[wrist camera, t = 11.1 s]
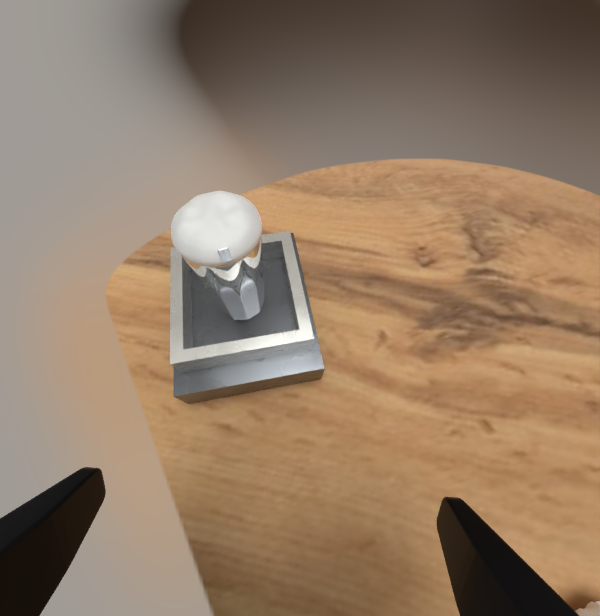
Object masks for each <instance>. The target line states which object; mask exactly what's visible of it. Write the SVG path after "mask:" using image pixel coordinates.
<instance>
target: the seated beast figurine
mask: <svg viewBox="0 0 600 616" xmlns="http://www.w3.org/2000/svg"><path fill="white" fill-rule="evenodd" d="M575 612H576V613H577V614H578V615H579V616H600V601H596V602H592V601H591V602H589V603H588V604H587V606H586V608H584V609H582V608H579V609H578V610H575Z"/></svg>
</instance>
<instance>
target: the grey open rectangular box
mask: <svg viewBox="0 0 600 616" xmlns="http://www.w3.org/2000/svg"><path fill="white" fill-rule="evenodd" d="M262 262H263V279H264V299H265V300H264V303H263V305H262V308H261V310H260V312H259V313H257V314H256V315H254V316H253V317H251V318H250V319H248V320H234V319H232V318H231V317H229V316H228V315H226V314H225V313H224V312H223V311H222V310H221V308H220V307H219V306H218V304H217V303H216V301H215V300H214V299H213V297H212V296H211V294H210V293H209V292H208V290H207V289H206V287H205V286H204V285H203V283H202V282H201V280H200V279H199V277H198V276H197V275H196V274H195V272H194V271H193V270H192V268H191V267H190V266H189V265H188V263H187V262H186V261H185V260H184V258H183V257H182V256H181V254H180V253H179V252H178V251H177V250H176V248H175V247H173V248H171V287H170V365H172V366H173V367H174V397H176V398H178V399H180V400H182V401H184V402H186V403H188V404H191V403H196V402H201V401H207V400H212V399H217V398H222V397H228V396H233V395H238V394H243V393H249V392H254V391H259V390H265V389H270V388H275V387H280V386H286V385H291V384H296V383H301V382H307V381H312V380H317V379H321V378H322V375H323V372H324V364H323V360H322V355H321V351H320V347H319V342H318V338H317V334H316V329H315V325H314V321H313V316H312V312H311V308H310V304H309V299H308V295H307V291H306V286H305V282H304V278H303V273H302V269H301V265H300V260H299V256H298V252H297V247H296V243H295V239H294V234H293V233H290V231H287V232H280V233H272V234H265V235H262Z"/></svg>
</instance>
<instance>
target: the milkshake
mask: <svg viewBox="0 0 600 616" xmlns="http://www.w3.org/2000/svg"><path fill="white" fill-rule="evenodd" d="M171 237H172V242H173V245H174V247H175V248H176V250H177V251H178V252H179V253H180V254H181V256H182V257H183V258H184V260H185V261H186V262H187V263H188V265H189V266H190V267H191V268H192V270H193V271H194V272H195V274H196V275H197V276H198V277H199V279H200V280H201V282H202V283H203V285H204V286H205V287H206V289H207V290H208V292H209V293H210V294H211V296H212V297H213V299H214V300H215V301H216V303H217V304H218V306H219V307H220V308H221V310H222V311H223V312H224V313H225V314H226V315H228V316H229V317H231V318H232V319H234V320H248V319H250V318H251V317H253V316H254V315H256V314H257V313H259V312H260V310H261V308H262V305H263V303H264V300H265V299H264V279H263V262H262V222H261V218H260V215H259V213H258V211H257V209H256V208H255V206H254V205H253V204H252V203H251V202H250V201H249V200H247V199H246V198H244V197H242V196H240V195H237V194H233V193H229V192H225V191H214V192H210V193H205V194H200V195H198V196H196V197H194V198H193V199H192V200H190V201H189V202H188V203H187V204H185V205H184V206H182V207H181V208H180V209H179V210H178V211H177V213H176V214H175V216H174V218H173V221H172V224H171Z"/></svg>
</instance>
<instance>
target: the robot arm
mask: <svg viewBox="0 0 600 616" xmlns="http://www.w3.org/2000/svg"><path fill="white" fill-rule="evenodd" d="M105 492H106V491H105V485H104V480H103V475H102V471H101V470H100V469H99V468H90V467H85V468H82V469H80V470H78V471H76V472H75V473H73V474H72V475H70V476H68V477H67V478H65V479H63V480H62V481H60V482H59V483H57V484H55V485H54V486H52V487H51V488H49V489H47V490H46V491H44V492H42V493H41V494H39V495H38V496H36V497H34V498H33V499H31V500H30V501H28V502H26V503H25V504H23V505H21V506H20V507H18V508H16V509H15V510H13V511H12V512H10V513H8V514H7V515H5V516H4V517H2V518H0V616H39V615H40V614H41V612H42V611H43V609H44V607H45V606H46V604H47V603H48V601H49V599H50V597H51V596H52V594H53V593H54V591H55V590H56V588H57V586H58V585H59V583H60V581H61V580H62V578H63V576H64V575H65V573H66V571H67V570H68V568H69V566H70V564H71V562H72V561H73V559H74V557H75V555H76V553H77V551H78V549H79V547H80V545H81V543H82V541H83V539H84V537H85V535H86V534H87V532H88V529H89V528H90V526H91V524H92V522H93V520H94V518H95V516H96V514H97V512H98V510H99V508H100V506H101V505H102V503H103V500H104V498H105ZM437 529H438V534H439V538H440V541H441V545H442V549H443V553H444V557H445V561H446V565H447V569H448V573H449V577H450V581H451V585H452V589H453V593H454V596H455V600H456V603H457V607H458V610H459V613H460V616H579V615H578V614H577V613H576V612H575V611H574V610H573V609H572V608H571V607H570V606H569V605H568V604H567V603H566V602H565V601H564V600H563V599H562V598H561V597H560V596H559V595H558V594H557V593H556V592H555V591H554V590H553V589H552V588H551V587H550V586H549V585H548V584H547V583H546V582H545V581H544V580H543V579H542V578H541V577H540V576H539V575H538V574H537V573H536V572H535V571H534V570H533V569H532V568H531V567H530V566H529V565H528V564H527V563H526V562H525V561H524V560H523V559H522V558H521V557H520V556H519V555H518V554H517V553H516V552H515V551H514V550H513V549H512V548H511V547H510V546H509V545H508V544H507V543H506V542H505V541H504V540H503V539H502V538H501V537H500V536H499V535H498V534H497V533H496V532H495V531H494V530H493V529H492V528H491V527H490V526H489V525H488V524H487V523H486V522H484V521H483V520H482V519H481V518H480V517H479V516H478V515H477V514H476V513H475V512H474V511H473V510H472V509H471V508H470V507H469V506H468V505H467V504H466V503H465V502H464V501H463V500H462V499H460V498H455V497H444V498H443V500H442V503H441V506H440V510H439V513H438V517H437Z"/></svg>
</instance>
